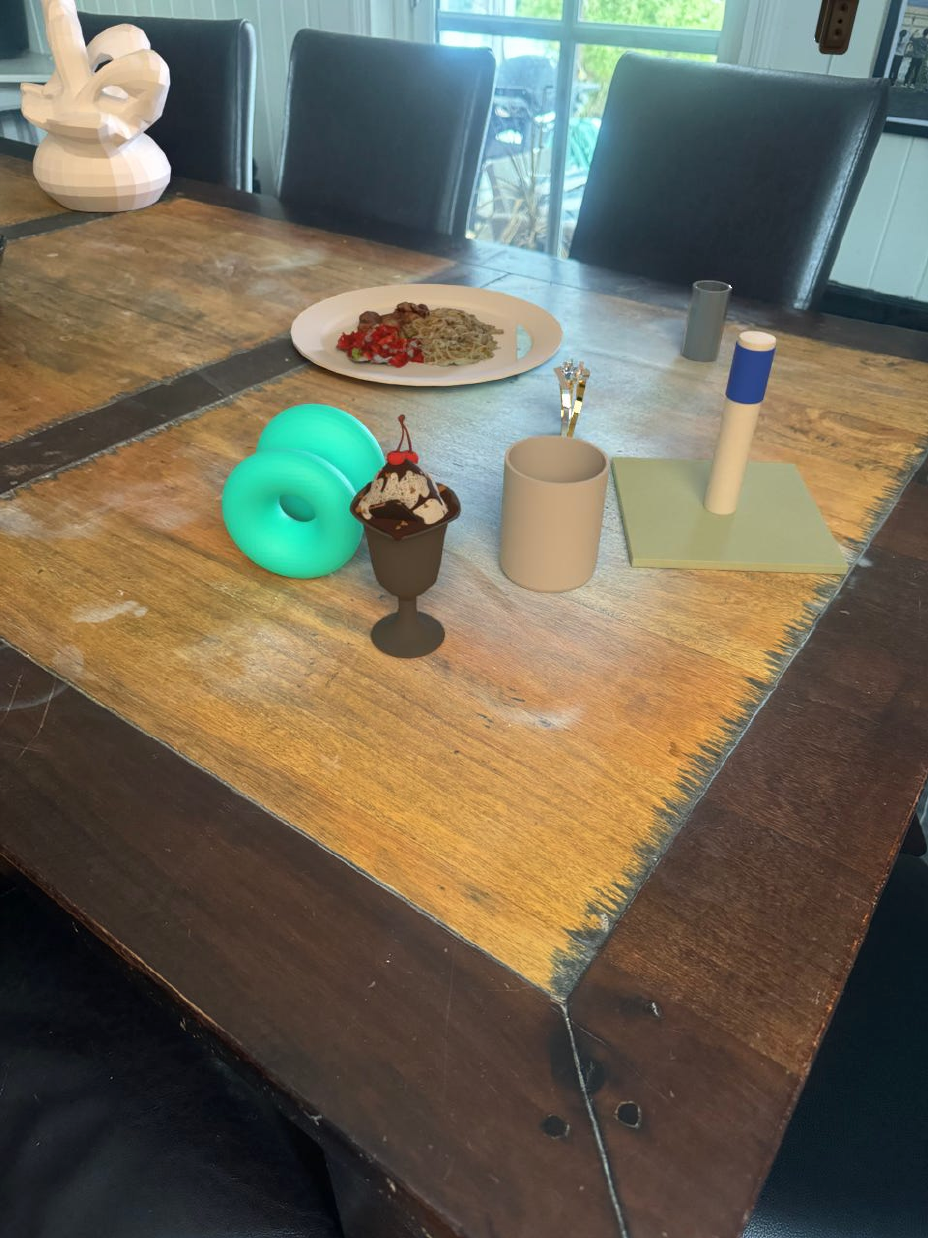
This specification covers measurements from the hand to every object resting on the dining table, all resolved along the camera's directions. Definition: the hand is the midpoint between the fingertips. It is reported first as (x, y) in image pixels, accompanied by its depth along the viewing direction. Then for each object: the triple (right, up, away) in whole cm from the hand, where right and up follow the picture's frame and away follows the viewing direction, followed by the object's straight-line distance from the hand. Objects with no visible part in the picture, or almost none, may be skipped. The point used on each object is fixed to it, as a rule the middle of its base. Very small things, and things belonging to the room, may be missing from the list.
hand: (828, 48), depth 75 cm
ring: (-21, -32, +8) cm, 39 cm away
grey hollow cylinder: (-4, -19, +25) cm, 31 cm away
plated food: (-34, -16, +27) cm, 47 cm away
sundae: (-34, -48, -14) cm, 61 cm away
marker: (-10, -38, -2) cm, 39 cm away
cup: (-24, -43, -6) cm, 49 cm away
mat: (-9, -39, -1) cm, 40 cm away
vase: (-88, +21, +74) cm, 117 cm away
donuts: (-42, -42, -6) cm, 60 cm away
